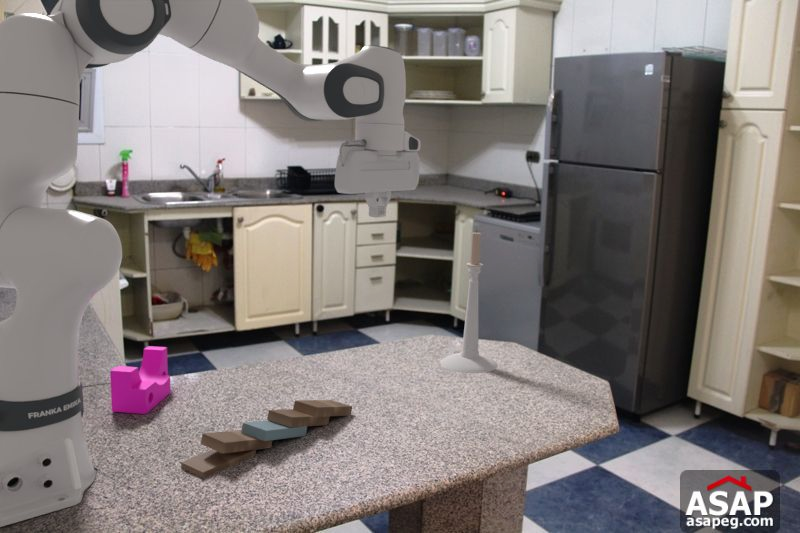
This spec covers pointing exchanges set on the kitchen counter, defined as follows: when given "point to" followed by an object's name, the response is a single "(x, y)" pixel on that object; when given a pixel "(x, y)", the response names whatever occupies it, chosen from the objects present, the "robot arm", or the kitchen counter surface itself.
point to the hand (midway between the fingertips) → (377, 216)
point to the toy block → (141, 383)
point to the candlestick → (471, 324)
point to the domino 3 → (271, 430)
